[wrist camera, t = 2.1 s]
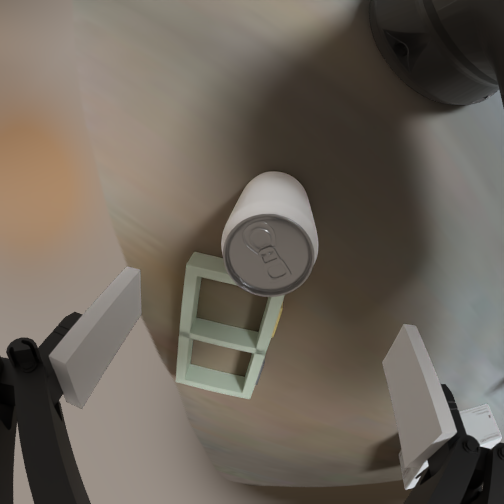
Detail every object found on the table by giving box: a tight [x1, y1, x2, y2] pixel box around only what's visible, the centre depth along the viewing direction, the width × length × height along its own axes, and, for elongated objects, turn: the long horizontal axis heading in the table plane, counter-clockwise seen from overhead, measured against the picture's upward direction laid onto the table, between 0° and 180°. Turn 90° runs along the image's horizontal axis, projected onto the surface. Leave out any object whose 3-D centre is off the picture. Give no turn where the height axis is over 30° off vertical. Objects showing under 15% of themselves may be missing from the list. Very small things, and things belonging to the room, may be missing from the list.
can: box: [221, 171, 318, 297], centre depth 25 cm, size 6×6×12 cm
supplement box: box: [399, 403, 502, 490], centre depth 41 cm, size 17×13×9 cm
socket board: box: [176, 251, 285, 399], centre depth 35 cm, size 10×18×3 cm, turn 168°
